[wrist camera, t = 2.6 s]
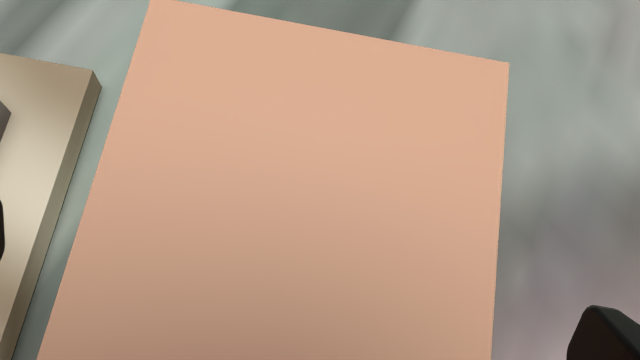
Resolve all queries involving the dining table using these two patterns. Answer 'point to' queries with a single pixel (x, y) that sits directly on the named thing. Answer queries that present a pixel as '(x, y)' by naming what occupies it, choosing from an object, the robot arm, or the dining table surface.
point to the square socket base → (35, 170)
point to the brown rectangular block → (288, 199)
